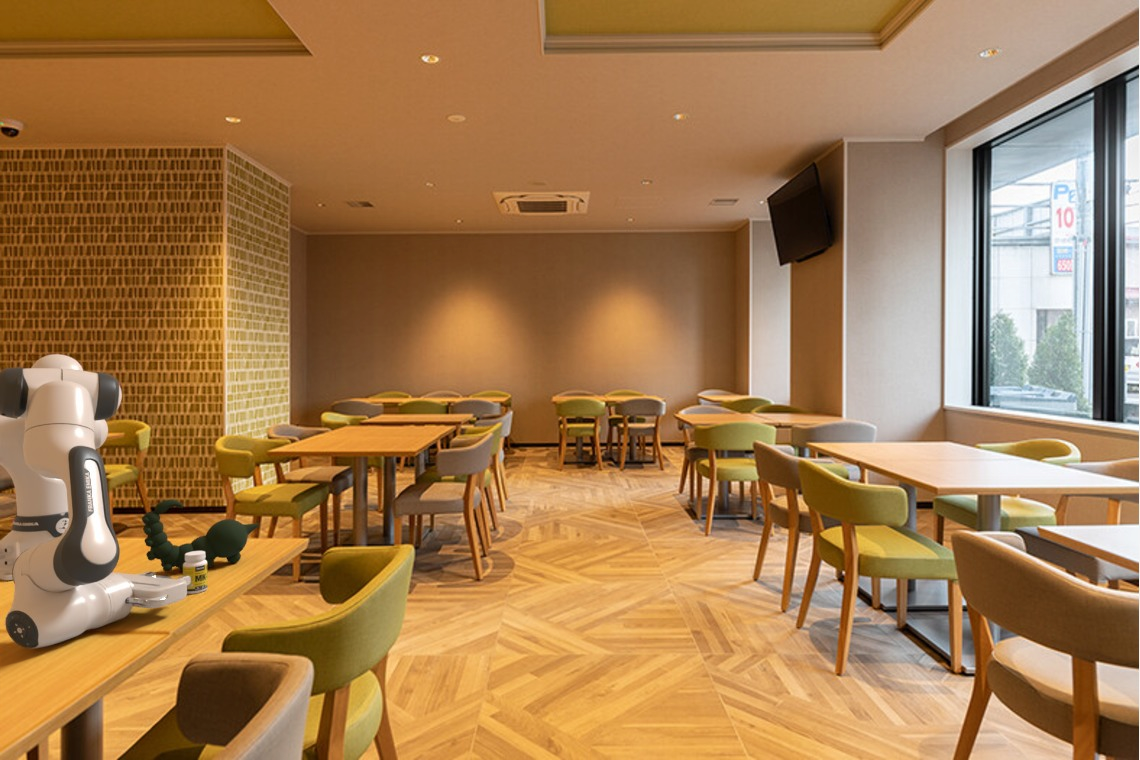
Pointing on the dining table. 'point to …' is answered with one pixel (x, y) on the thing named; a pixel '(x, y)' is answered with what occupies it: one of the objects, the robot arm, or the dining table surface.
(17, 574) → the robot arm
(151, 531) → the toy figurine
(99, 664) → the dining table surface
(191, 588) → the supplement bottle
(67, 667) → the dining table surface
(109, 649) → the dining table surface
